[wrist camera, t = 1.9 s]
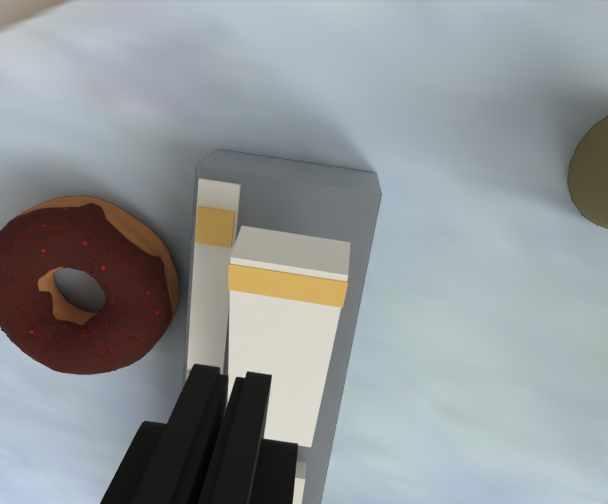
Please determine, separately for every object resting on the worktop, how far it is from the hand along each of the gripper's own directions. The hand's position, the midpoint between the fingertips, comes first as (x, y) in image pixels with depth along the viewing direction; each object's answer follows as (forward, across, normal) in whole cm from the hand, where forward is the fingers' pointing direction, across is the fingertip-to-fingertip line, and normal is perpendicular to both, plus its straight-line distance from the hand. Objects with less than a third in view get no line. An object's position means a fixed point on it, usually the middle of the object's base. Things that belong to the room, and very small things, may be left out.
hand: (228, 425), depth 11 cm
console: (+17, 0, +11) cm, 20 cm away
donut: (+17, +10, +6) cm, 21 cm away
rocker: (+10, -1, +4) cm, 11 cm away
